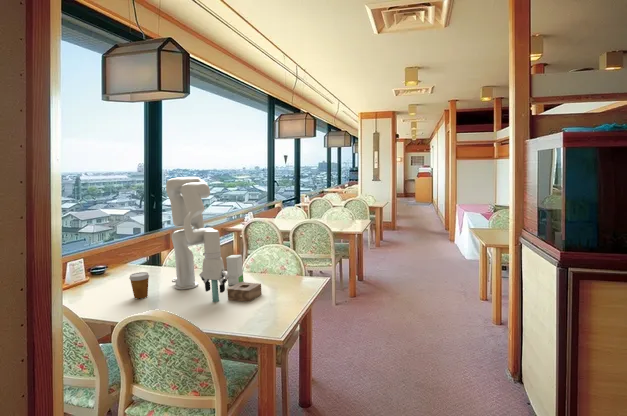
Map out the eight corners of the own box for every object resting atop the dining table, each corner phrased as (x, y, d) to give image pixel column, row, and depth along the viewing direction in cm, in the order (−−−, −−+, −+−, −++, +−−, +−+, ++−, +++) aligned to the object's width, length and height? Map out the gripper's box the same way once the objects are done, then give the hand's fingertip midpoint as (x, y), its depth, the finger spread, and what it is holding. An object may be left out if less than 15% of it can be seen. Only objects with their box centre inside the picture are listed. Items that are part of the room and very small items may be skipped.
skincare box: (238, 285, 228) (236, 257, 226) (227, 285, 229) (225, 257, 227) (244, 281, 236) (242, 254, 234) (233, 281, 237) (231, 254, 236)
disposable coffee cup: (155, 294, 217) (153, 272, 216) (142, 300, 208) (140, 277, 207) (140, 293, 220) (138, 271, 219) (126, 299, 211) (124, 276, 210)
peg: (211, 301, 202) (209, 277, 201) (215, 299, 205) (213, 275, 204) (216, 302, 201) (214, 277, 200) (220, 300, 204) (218, 276, 203)
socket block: (228, 299, 204) (227, 288, 203) (241, 292, 215) (240, 282, 214) (249, 301, 200) (248, 290, 199) (261, 294, 211) (261, 283, 210)
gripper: (192, 256, 201) (195, 292, 202) (223, 258, 194) (226, 295, 196) (202, 253, 207) (204, 287, 209) (232, 254, 201) (234, 290, 203)
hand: (215, 291), depth 203 cm, fingers open, 7 cm apart
